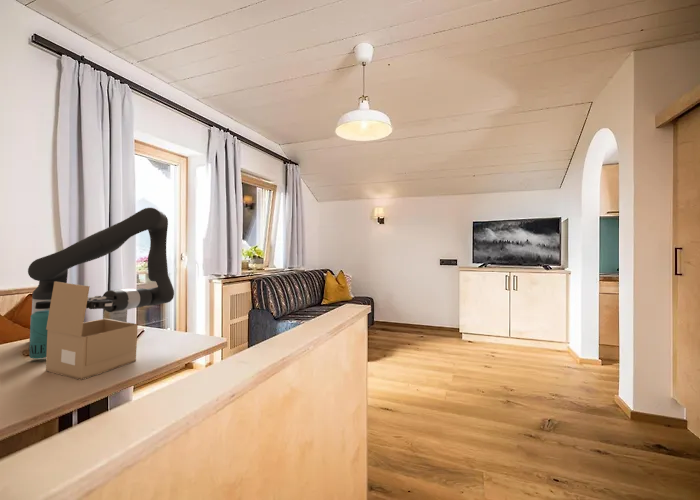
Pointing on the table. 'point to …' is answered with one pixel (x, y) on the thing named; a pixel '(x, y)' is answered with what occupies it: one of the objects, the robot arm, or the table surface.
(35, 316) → the beverage bottle
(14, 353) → the table surface
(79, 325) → the carton flap
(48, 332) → the carton
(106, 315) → the coffee box
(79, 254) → the robot arm
